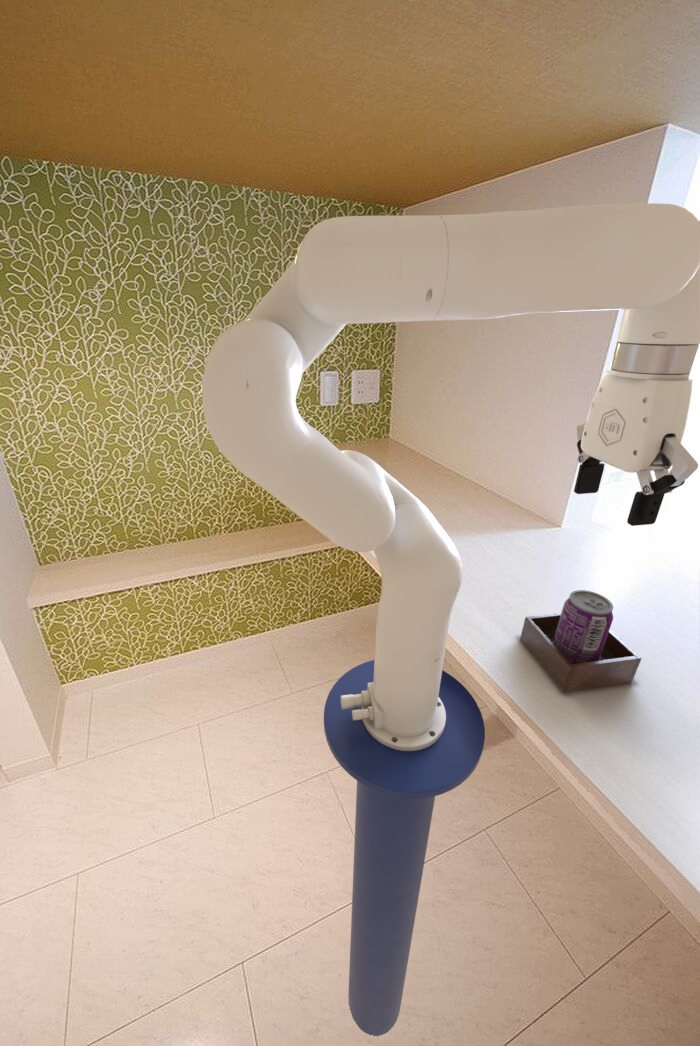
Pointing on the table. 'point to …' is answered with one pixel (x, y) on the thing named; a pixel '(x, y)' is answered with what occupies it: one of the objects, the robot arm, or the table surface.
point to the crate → (582, 675)
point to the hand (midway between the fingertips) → (610, 507)
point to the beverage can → (583, 626)
